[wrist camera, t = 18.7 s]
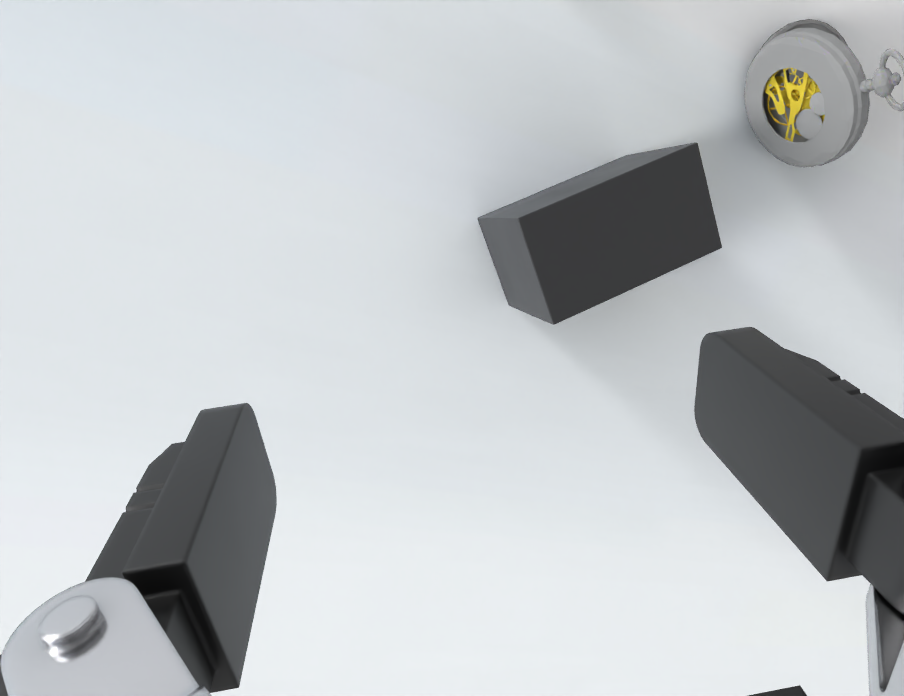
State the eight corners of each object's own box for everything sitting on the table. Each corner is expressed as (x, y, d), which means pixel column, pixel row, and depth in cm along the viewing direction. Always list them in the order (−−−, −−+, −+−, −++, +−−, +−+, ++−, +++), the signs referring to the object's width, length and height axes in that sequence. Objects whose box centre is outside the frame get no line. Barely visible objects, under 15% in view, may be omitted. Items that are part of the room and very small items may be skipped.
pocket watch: (858, 70, 34) (1071, 15, 25) (781, 198, 35) (960, 192, 25) (764, -20, 32) (962, -120, 22) (683, 119, 32) (842, 80, 23)
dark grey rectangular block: (647, 242, 33) (506, 304, 32) (623, 155, 32) (475, 217, 31) (722, 247, 27) (553, 325, 26) (697, 141, 26) (517, 218, 25)
